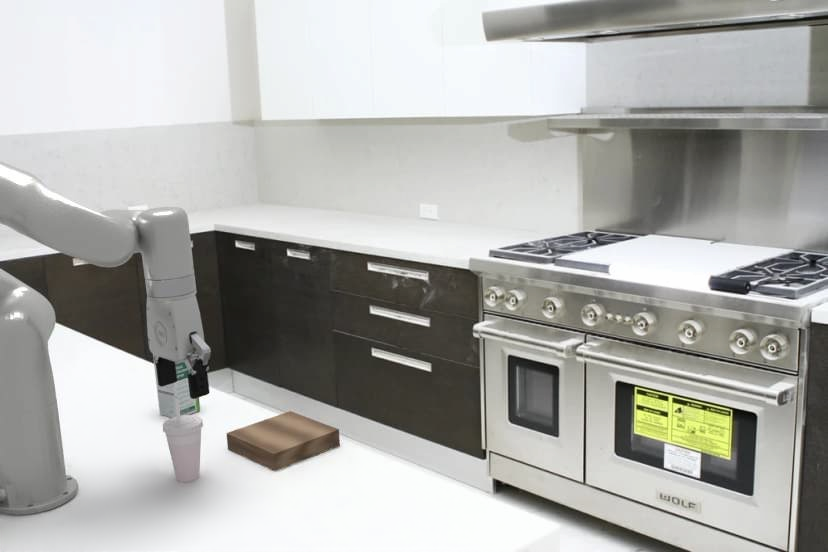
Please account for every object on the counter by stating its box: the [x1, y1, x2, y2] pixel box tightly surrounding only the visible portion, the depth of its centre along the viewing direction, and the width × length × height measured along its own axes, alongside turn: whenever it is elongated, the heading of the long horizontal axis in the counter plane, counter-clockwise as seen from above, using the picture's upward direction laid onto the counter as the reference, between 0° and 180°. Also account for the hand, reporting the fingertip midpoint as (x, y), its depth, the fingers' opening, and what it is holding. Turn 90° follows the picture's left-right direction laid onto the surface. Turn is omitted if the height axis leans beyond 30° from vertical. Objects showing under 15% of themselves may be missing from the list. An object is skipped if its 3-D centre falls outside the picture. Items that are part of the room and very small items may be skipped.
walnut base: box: [226, 410, 341, 472], centre depth 157 cm, size 14×14×3 cm
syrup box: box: [152, 353, 201, 418], centre depth 175 cm, size 6×6×14 cm
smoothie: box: [162, 397, 204, 483], centre depth 145 cm, size 6×6×14 cm
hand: (183, 390), depth 143 cm, fingers open, 9 cm apart
